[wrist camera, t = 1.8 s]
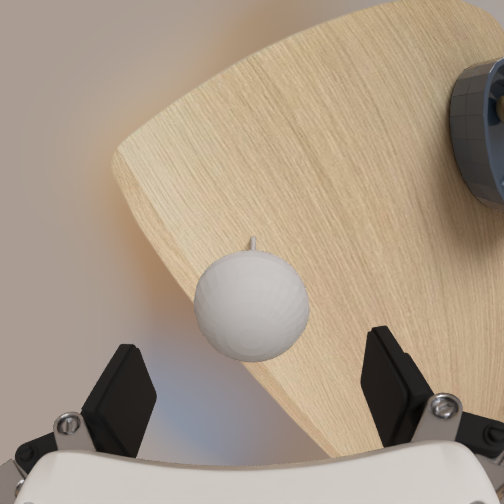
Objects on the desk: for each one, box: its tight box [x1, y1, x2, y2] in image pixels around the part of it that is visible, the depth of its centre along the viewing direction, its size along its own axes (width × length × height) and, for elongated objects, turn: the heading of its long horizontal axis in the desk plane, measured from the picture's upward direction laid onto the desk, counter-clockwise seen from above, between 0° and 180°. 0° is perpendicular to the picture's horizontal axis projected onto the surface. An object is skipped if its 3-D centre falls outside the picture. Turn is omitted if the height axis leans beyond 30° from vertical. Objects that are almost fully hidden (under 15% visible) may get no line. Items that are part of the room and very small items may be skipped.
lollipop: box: [194, 236, 309, 362], centre depth 20 cm, size 6×6×15 cm
